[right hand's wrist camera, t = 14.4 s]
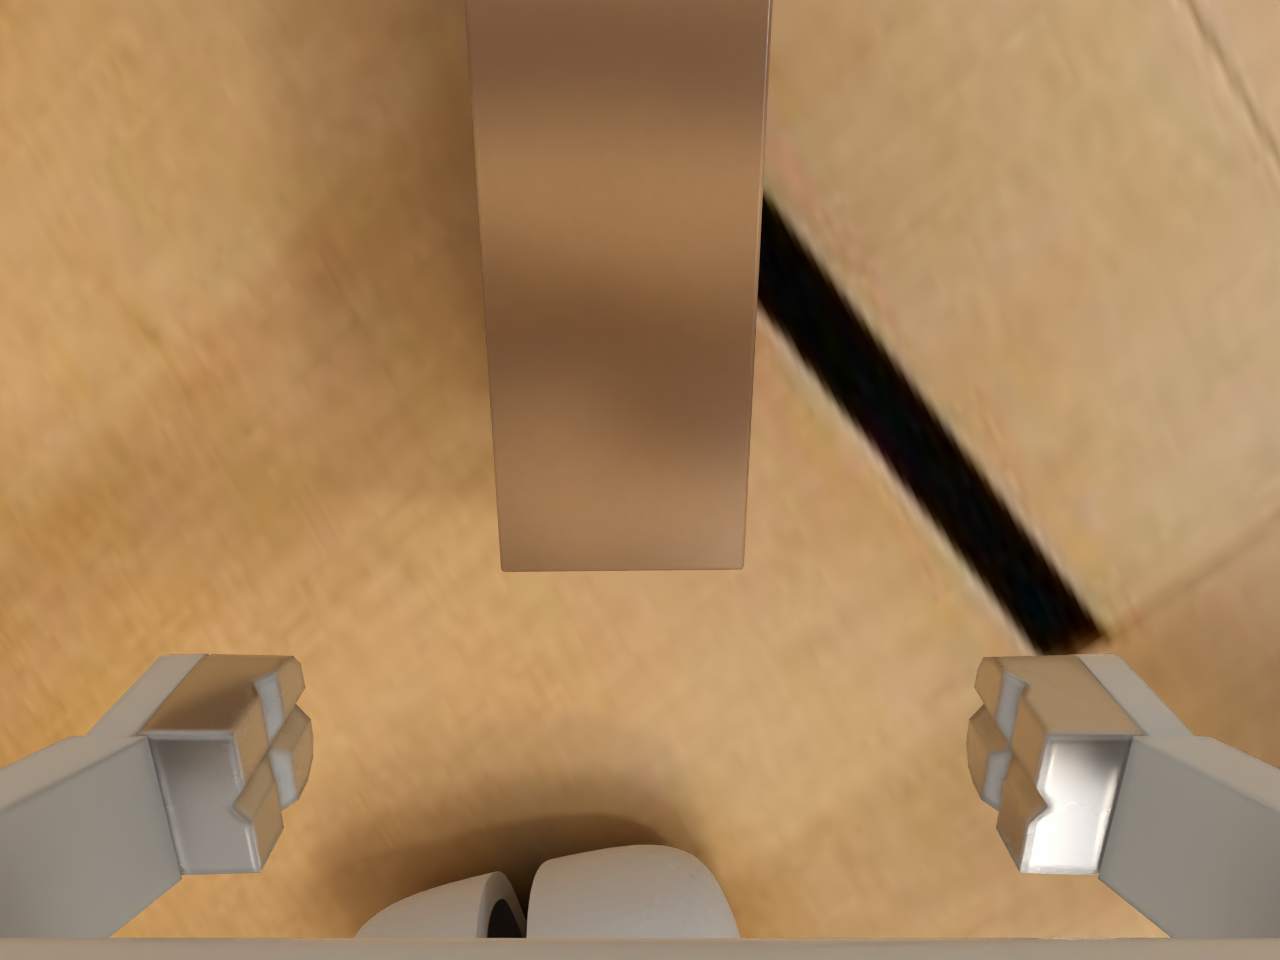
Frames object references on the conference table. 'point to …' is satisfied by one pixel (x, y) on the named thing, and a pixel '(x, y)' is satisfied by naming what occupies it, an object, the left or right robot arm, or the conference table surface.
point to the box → (620, 273)
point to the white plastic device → (573, 901)
